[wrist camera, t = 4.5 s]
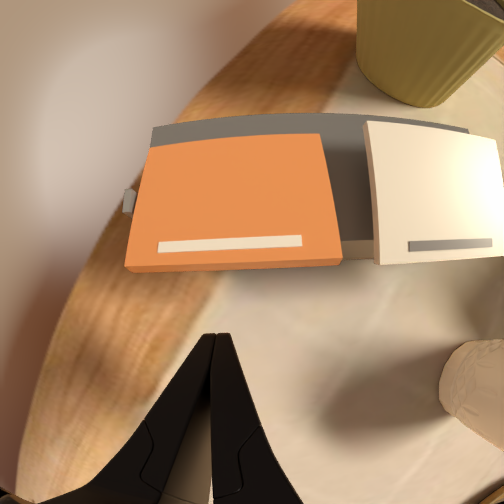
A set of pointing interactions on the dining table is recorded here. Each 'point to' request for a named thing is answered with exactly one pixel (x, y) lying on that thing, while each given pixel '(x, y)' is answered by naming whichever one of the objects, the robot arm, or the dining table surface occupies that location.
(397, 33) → the potted cactus
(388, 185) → the white rocker
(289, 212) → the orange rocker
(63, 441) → the dining table surface
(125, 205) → the rocker switch box
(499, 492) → the plant saucer
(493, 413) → the white cup
